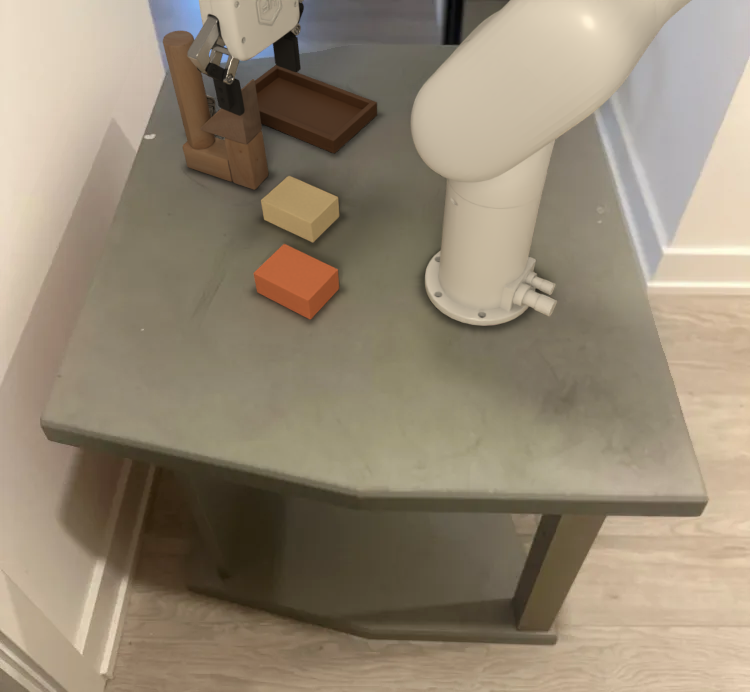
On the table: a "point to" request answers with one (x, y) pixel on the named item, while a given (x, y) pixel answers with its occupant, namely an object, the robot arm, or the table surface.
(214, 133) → the brown l-shaped piece
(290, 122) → the frame
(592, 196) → the table surface
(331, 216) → the sand pad
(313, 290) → the terracotta pad
